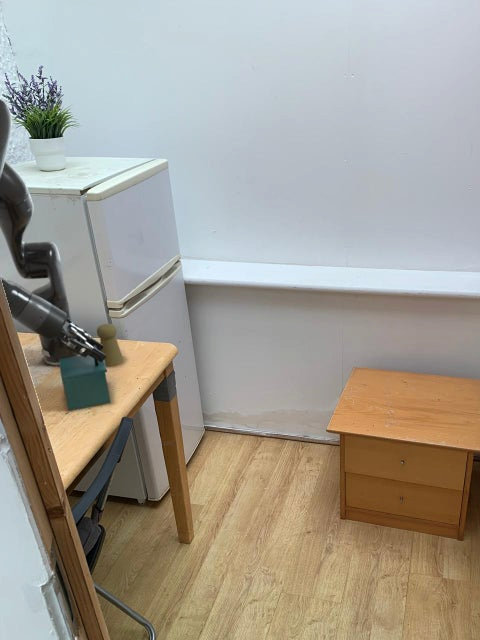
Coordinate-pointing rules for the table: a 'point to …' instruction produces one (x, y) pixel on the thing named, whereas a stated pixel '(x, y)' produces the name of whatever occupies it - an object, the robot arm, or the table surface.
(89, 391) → the teal square box
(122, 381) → the table surface
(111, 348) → the olive pepper mill
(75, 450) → the table surface
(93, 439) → the table surface
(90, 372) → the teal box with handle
